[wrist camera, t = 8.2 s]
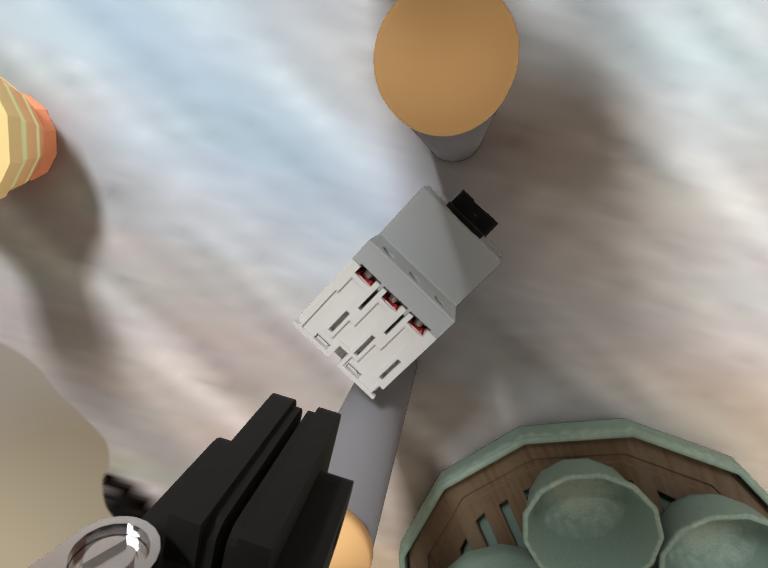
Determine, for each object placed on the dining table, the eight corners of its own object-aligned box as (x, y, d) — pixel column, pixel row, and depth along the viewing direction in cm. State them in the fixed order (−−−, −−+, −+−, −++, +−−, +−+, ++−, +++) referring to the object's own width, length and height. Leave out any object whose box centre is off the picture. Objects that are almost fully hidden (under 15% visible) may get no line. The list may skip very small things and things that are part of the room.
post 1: (374, 333, 46) (276, 499, 22) (423, 347, 45) (380, 535, 21) (362, 378, 47) (258, 583, 23) (410, 393, 46) (355, 619, 22)
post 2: (433, 96, 40) (392, -37, 16) (491, 109, 39) (539, -8, 15) (419, 155, 41) (359, 116, 17) (474, 169, 41) (493, 148, 17)
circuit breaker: (504, 229, 41) (527, 253, 27) (399, 332, 45) (369, 401, 31) (445, 171, 41) (437, 165, 27) (344, 280, 45) (289, 326, 31)
